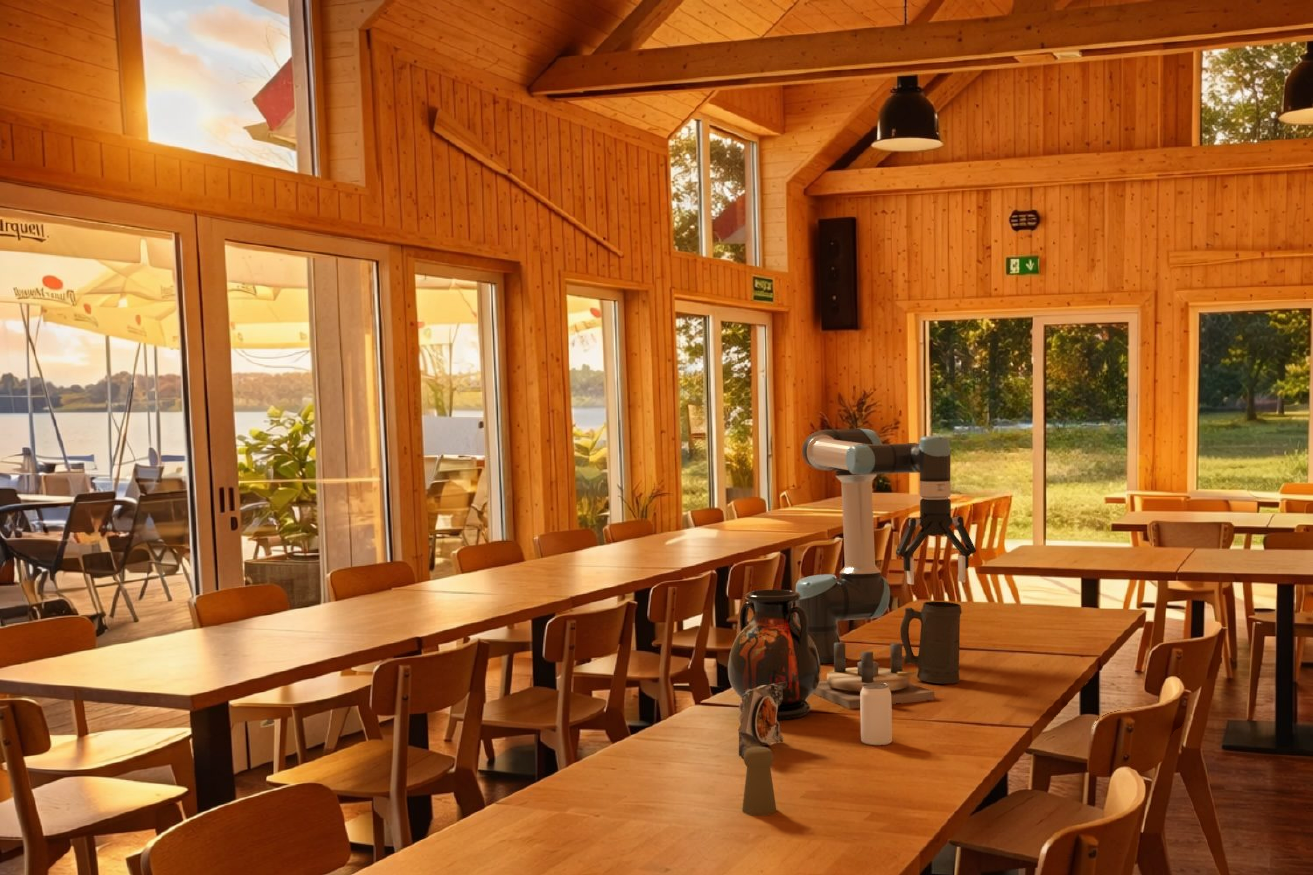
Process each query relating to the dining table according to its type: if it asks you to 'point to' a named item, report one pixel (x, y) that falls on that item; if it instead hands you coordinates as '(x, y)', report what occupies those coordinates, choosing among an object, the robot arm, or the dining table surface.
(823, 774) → the dining table surface
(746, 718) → the meal
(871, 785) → the dining table surface
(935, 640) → the beer stein
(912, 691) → the stand
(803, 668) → the amphora vase
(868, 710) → the can
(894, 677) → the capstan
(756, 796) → the brown tapered piece
